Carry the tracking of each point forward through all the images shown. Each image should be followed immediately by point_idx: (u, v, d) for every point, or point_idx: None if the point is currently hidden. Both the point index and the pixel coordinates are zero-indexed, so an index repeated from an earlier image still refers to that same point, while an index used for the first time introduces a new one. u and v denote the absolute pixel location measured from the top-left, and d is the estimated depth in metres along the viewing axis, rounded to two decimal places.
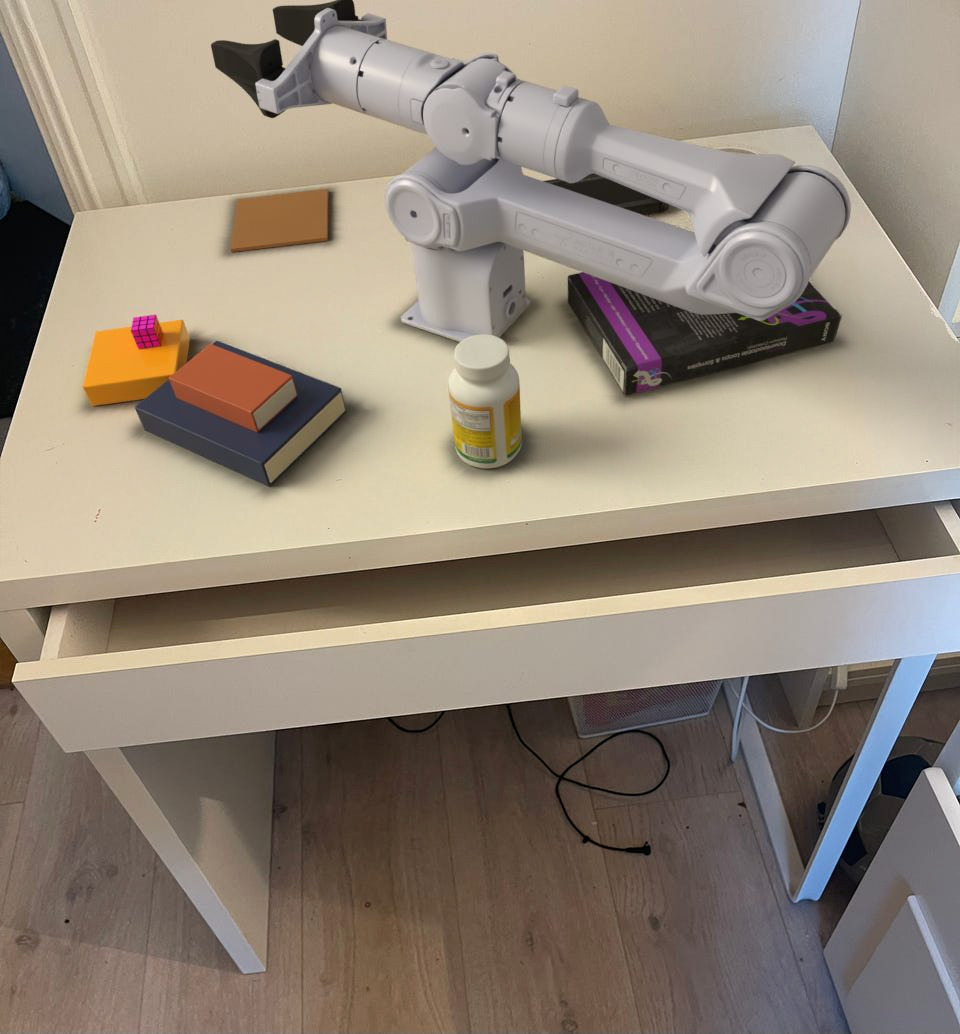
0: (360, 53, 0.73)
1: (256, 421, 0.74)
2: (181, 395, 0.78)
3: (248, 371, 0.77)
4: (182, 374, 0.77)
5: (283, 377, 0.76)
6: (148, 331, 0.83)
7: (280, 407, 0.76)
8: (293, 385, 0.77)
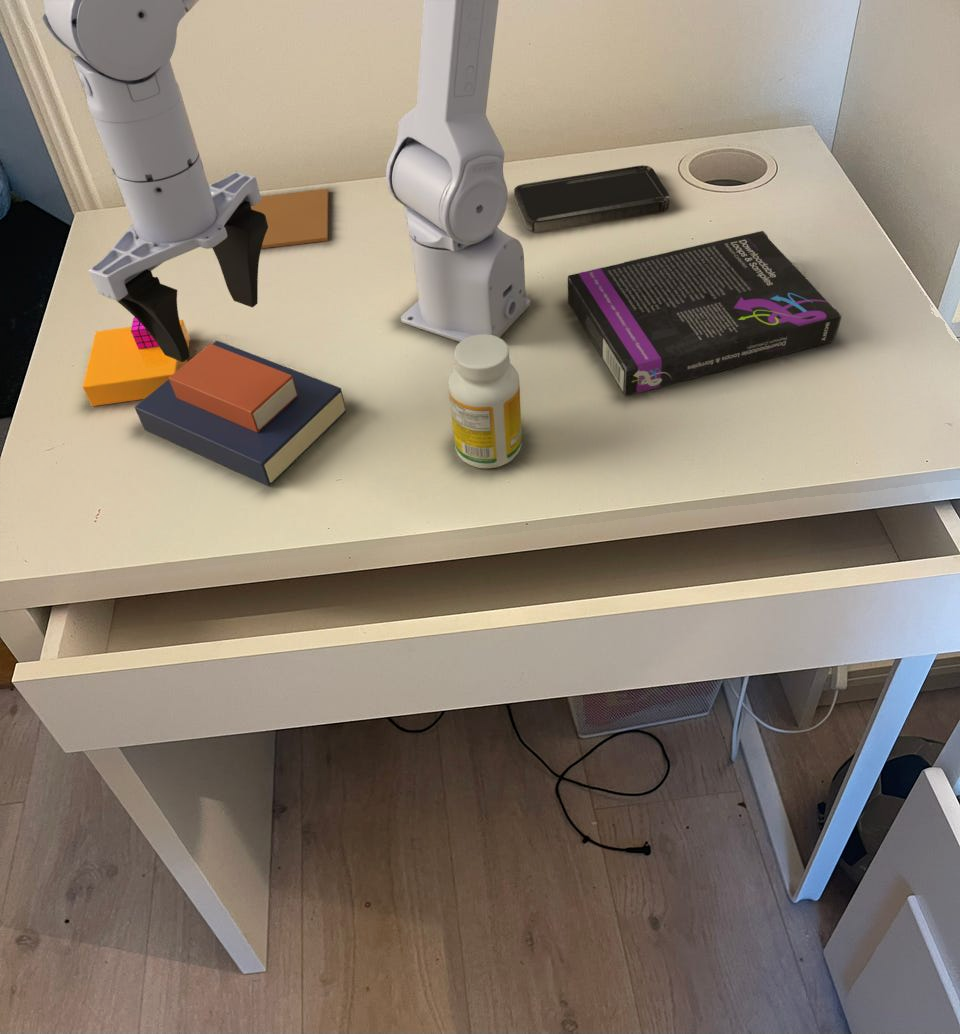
0: (199, 164, 0.63)
1: (257, 421, 0.74)
2: (181, 395, 0.78)
3: (248, 371, 0.77)
4: (182, 374, 0.77)
5: (283, 377, 0.76)
6: None
7: (280, 407, 0.76)
8: (293, 385, 0.77)
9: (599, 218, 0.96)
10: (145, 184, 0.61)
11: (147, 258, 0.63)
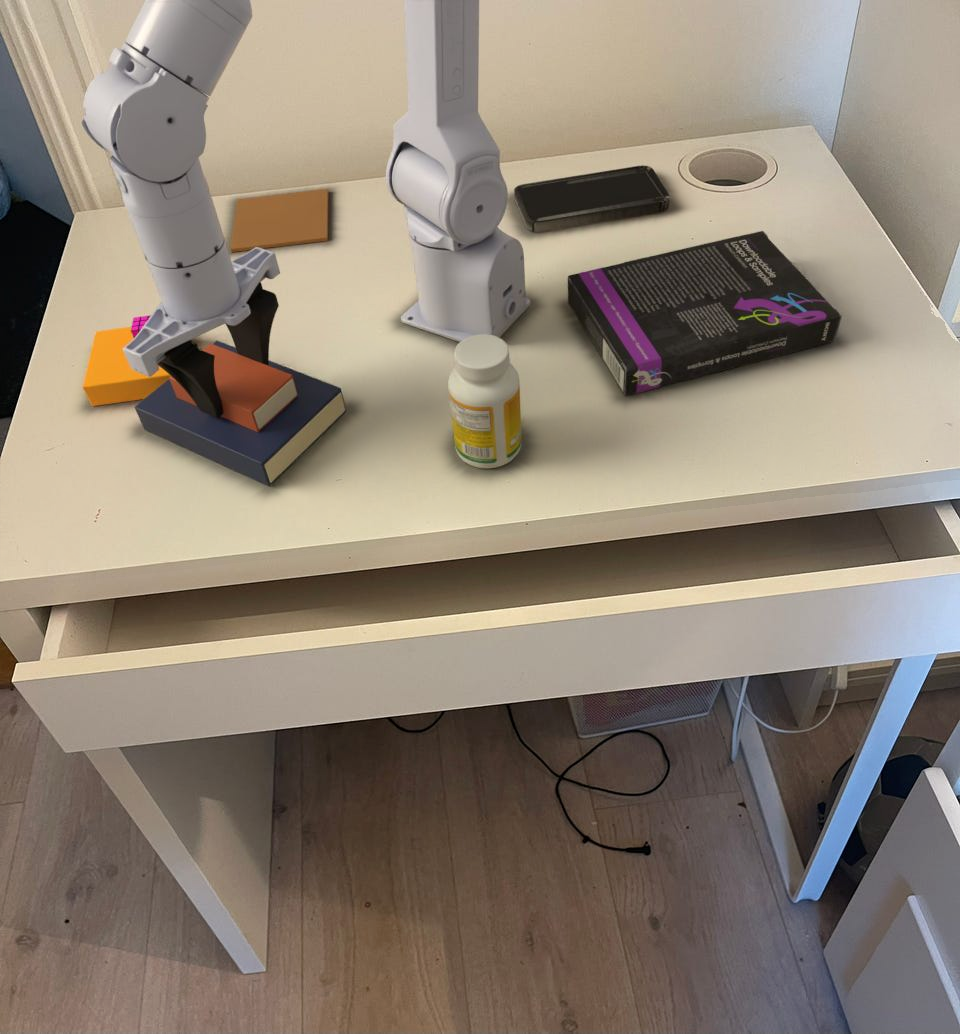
0: (224, 248, 0.68)
1: (257, 421, 0.74)
2: (181, 395, 0.78)
3: (248, 371, 0.77)
4: None
5: (283, 377, 0.76)
6: None
7: (280, 407, 0.76)
8: (293, 385, 0.77)
9: (599, 218, 0.96)
10: (175, 270, 0.66)
11: (177, 336, 0.68)
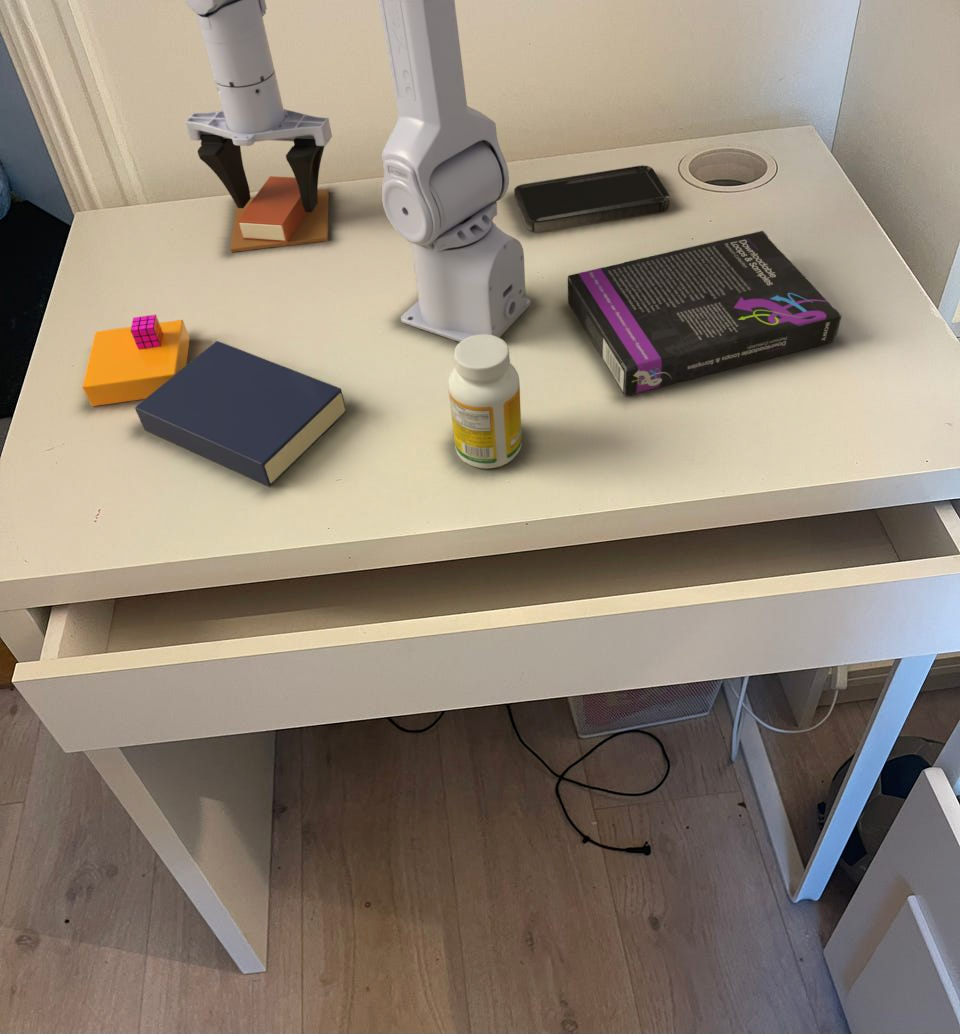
0: (250, 90, 0.88)
1: (242, 231, 0.98)
2: None
3: (283, 204, 0.99)
4: (274, 180, 1.02)
5: (279, 220, 0.96)
6: (148, 331, 0.83)
7: (266, 237, 0.98)
8: (282, 231, 0.97)
9: (599, 218, 0.96)
10: (215, 81, 0.90)
11: (208, 126, 0.93)
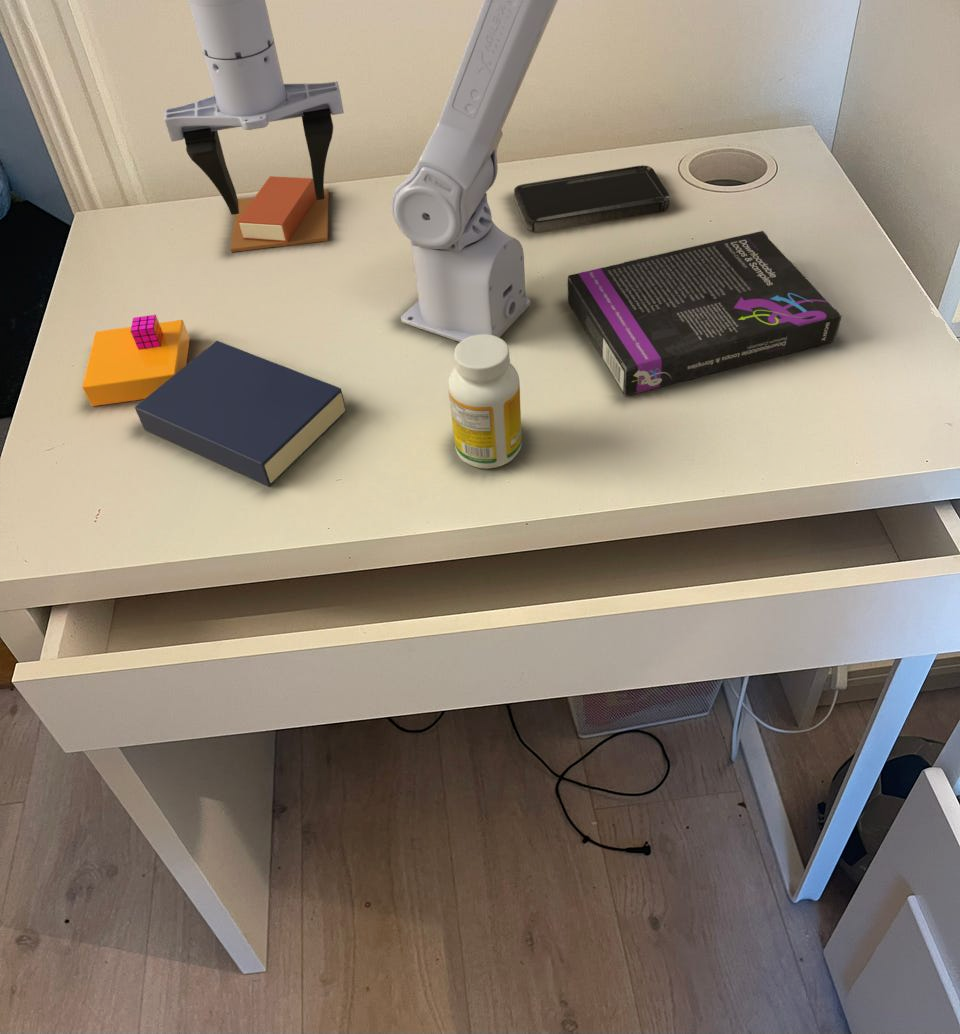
0: (259, 59, 0.74)
1: (242, 231, 0.98)
2: None
3: (283, 204, 0.99)
4: (274, 180, 1.02)
5: (279, 220, 0.96)
6: (148, 331, 0.83)
7: (266, 237, 0.98)
8: (282, 231, 0.97)
9: (599, 218, 0.96)
10: (208, 58, 0.74)
11: (199, 117, 0.77)
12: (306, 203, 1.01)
